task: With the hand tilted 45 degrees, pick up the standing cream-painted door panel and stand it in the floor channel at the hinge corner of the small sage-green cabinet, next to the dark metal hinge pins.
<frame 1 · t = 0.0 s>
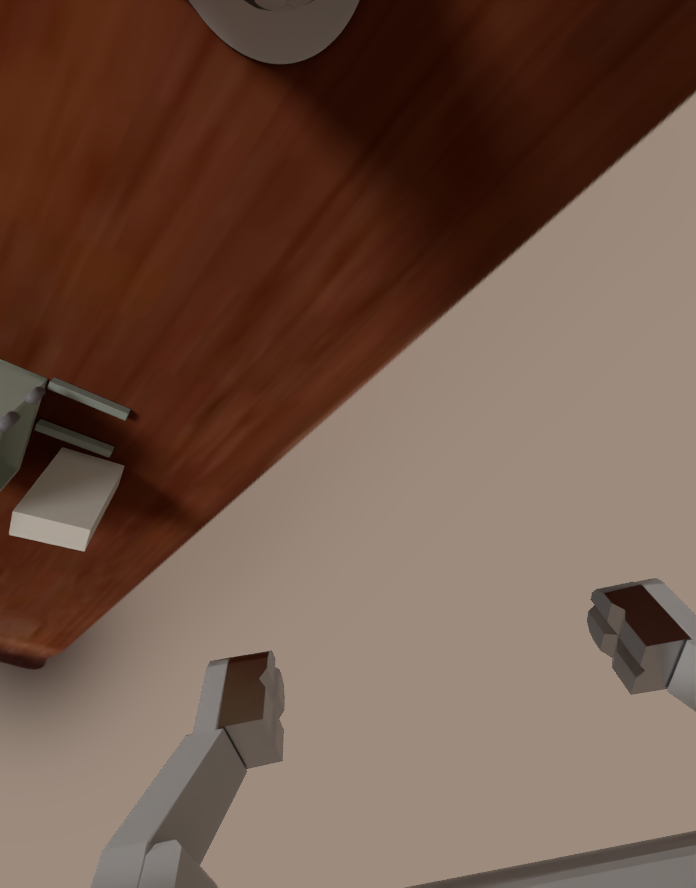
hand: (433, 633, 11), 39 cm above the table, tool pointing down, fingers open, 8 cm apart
cabinet: (84, 417, 48), on the table
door: (91, 467, 52), on the table
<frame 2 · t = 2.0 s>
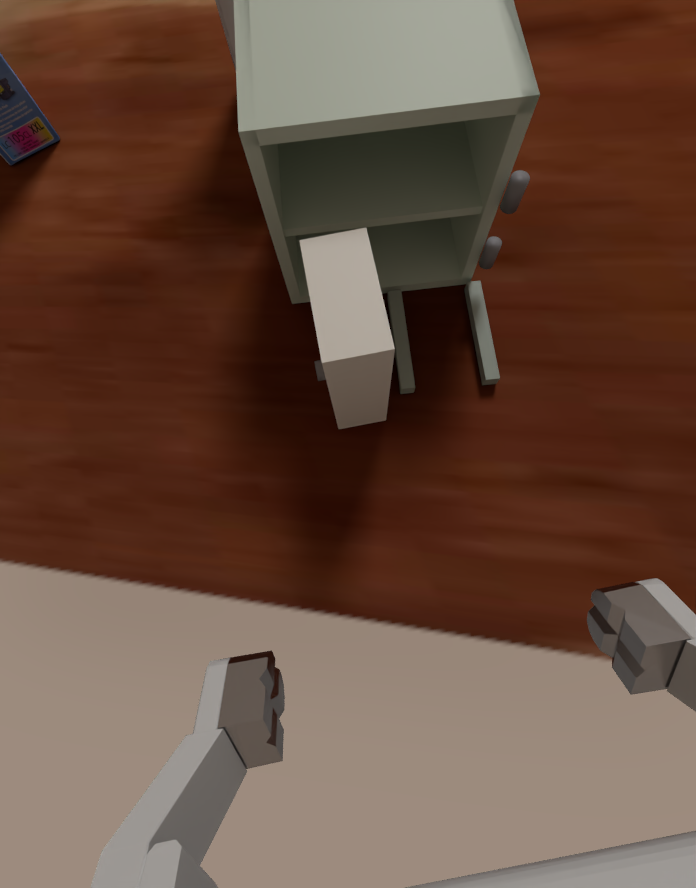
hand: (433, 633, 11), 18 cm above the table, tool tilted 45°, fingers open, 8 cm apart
supplement tub: (292, 87, 39), on the table
cabinet: (439, 339, 32), on the table
ink cartridge box: (18, 125, 40), on the table
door: (353, 380, 31), on the table
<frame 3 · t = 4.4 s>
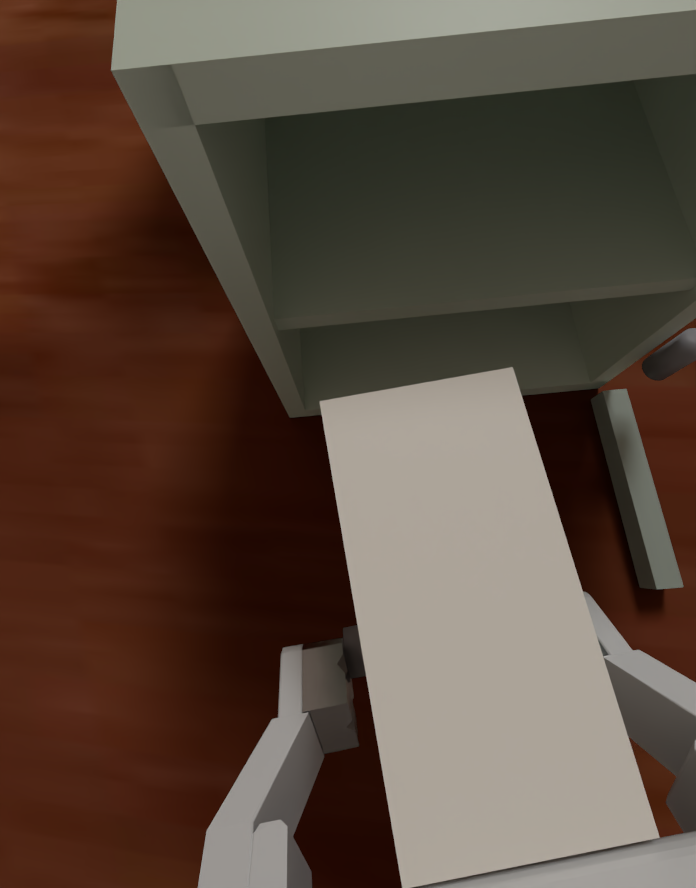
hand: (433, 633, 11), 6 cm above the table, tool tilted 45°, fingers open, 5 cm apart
cabinet: (554, 493, 18), on the table
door: (400, 571, 17), on the table, touching gripper
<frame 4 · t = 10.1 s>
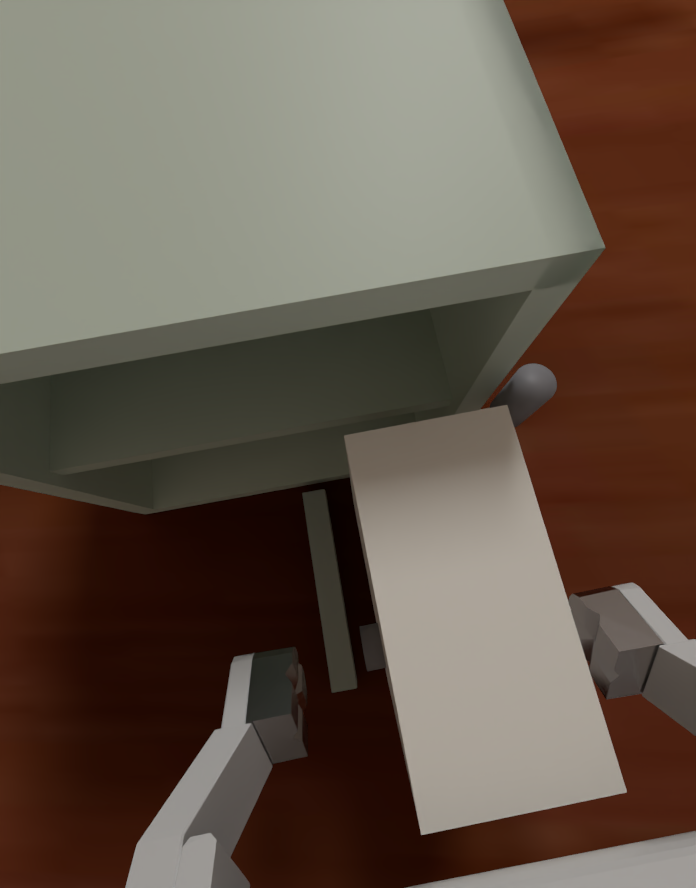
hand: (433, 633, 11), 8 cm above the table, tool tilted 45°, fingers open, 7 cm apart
cabinet: (396, 570, 18), on the table
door: (407, 573, 18), resting in cabinet
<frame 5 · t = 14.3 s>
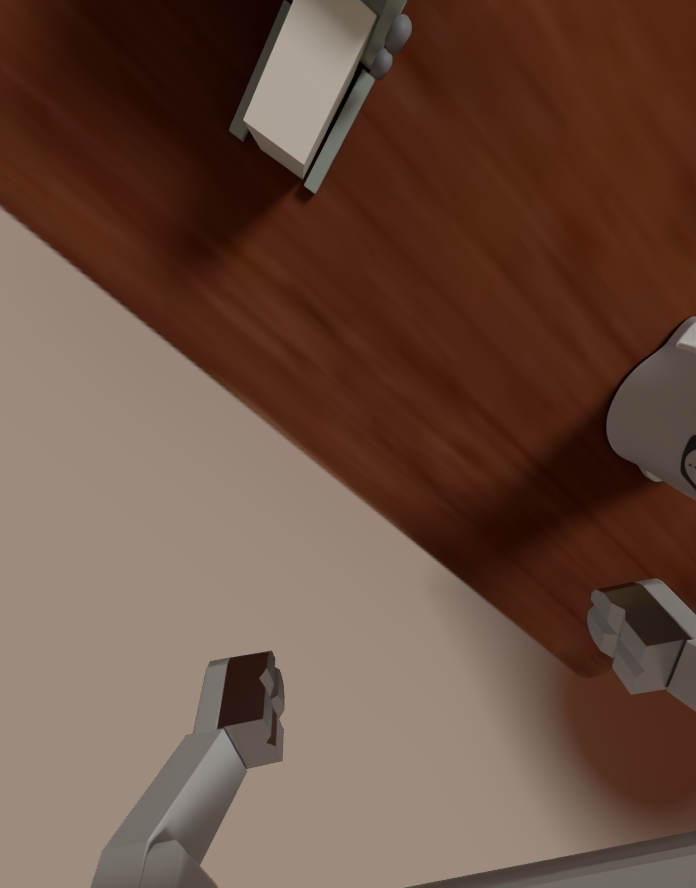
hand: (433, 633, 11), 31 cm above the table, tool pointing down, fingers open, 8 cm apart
cabinet: (301, 108, 30), on the table
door: (305, 115, 30), resting in cabinet
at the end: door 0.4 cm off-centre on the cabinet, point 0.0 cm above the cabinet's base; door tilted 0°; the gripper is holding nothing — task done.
